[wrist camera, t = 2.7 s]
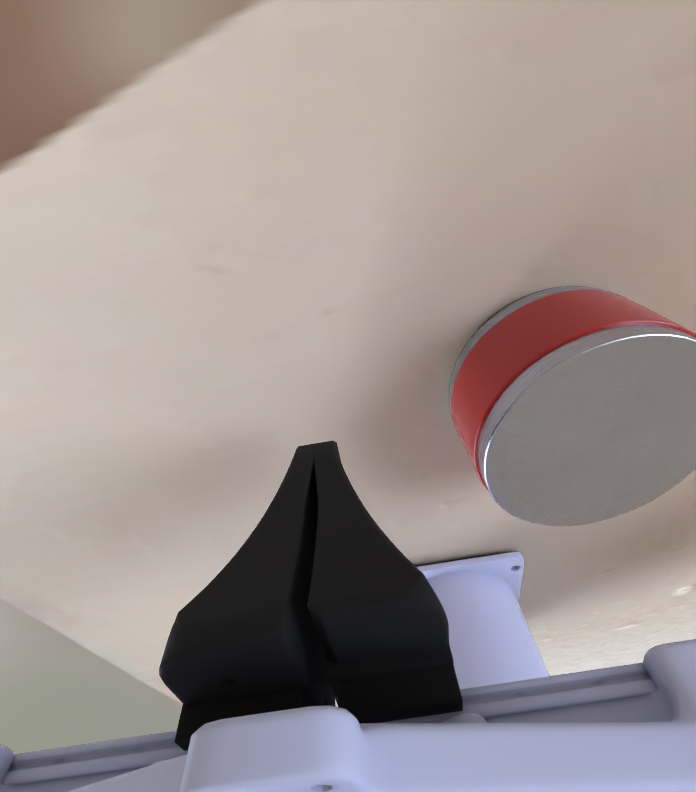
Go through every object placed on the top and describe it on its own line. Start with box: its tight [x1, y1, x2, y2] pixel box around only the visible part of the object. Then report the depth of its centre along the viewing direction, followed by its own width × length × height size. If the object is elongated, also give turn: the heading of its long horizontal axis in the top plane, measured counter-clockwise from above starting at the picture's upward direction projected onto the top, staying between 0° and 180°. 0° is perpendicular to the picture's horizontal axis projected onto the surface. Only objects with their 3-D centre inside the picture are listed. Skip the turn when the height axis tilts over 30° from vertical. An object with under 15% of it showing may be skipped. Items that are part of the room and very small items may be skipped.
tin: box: [449, 286, 696, 526], centre depth 15 cm, size 8×8×4 cm
